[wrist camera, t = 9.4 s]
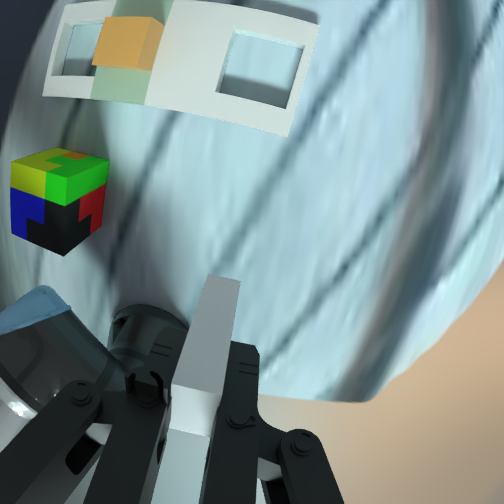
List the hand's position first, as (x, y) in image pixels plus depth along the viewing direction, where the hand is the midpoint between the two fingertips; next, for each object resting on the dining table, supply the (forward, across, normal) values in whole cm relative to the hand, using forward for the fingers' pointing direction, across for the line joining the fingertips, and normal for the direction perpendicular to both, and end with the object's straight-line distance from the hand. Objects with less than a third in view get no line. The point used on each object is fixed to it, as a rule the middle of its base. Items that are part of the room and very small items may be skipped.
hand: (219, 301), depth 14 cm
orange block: (+22, +17, -15) cm, 32 cm away
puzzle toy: (+26, +25, +5) cm, 36 cm away
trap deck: (+25, +14, -15) cm, 32 cm away
